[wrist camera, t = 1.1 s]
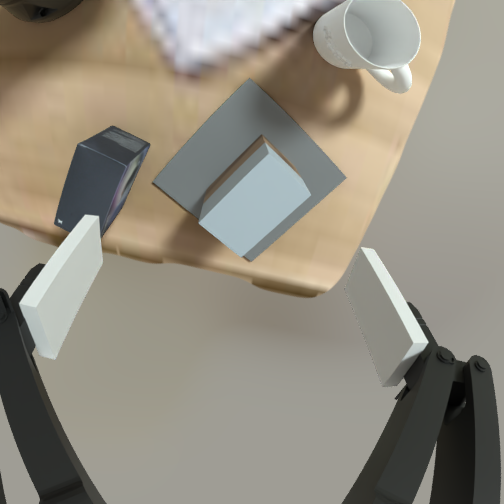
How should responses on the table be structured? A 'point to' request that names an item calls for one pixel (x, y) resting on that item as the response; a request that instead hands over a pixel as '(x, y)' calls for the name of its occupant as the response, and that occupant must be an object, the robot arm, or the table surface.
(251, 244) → the block top
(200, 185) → the mat
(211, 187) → the block bottom
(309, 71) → the table surface
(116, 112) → the table surface
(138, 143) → the small box
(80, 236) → the robot arm
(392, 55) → the mug
